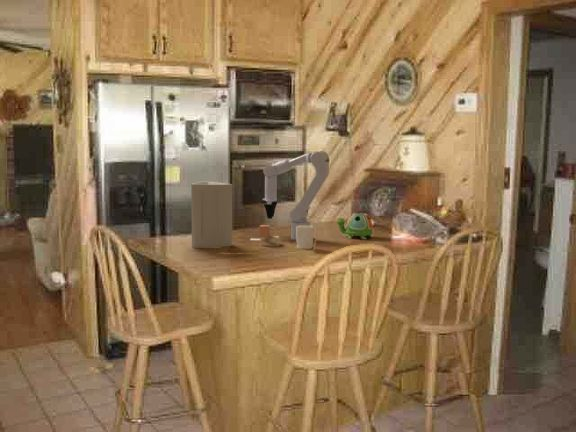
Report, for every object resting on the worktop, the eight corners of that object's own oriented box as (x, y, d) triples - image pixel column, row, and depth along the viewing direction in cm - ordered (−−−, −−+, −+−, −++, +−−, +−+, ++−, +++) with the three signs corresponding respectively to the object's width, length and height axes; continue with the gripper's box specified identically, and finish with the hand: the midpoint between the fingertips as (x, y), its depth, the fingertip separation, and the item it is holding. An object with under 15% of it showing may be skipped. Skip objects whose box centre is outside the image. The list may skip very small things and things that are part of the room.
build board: (286, 240, 284) (286, 239, 284) (283, 247, 266) (283, 246, 266) (249, 239, 286) (249, 238, 286) (243, 246, 267) (243, 245, 267)
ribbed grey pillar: (181, 244, 271) (181, 182, 268) (209, 240, 281) (209, 181, 277) (205, 250, 257) (204, 185, 253) (233, 246, 267) (233, 184, 263)
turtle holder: (339, 234, 305) (340, 211, 303) (374, 236, 299) (375, 213, 298) (333, 238, 293) (334, 214, 292) (370, 240, 288) (370, 216, 286)
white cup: (315, 250, 261) (315, 227, 259) (297, 250, 259) (297, 228, 258) (311, 247, 268) (311, 225, 267) (294, 247, 267) (294, 225, 266)
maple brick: (279, 243, 272) (279, 236, 272) (278, 245, 267) (278, 237, 267) (261, 243, 273) (261, 235, 272) (260, 245, 268) (260, 237, 267)
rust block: (270, 235, 272) (270, 225, 271) (269, 237, 267) (269, 226, 267) (260, 235, 272) (260, 224, 271) (259, 237, 268) (259, 226, 267)
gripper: (264, 188, 296) (264, 215, 298) (260, 190, 282) (260, 219, 284) (278, 188, 296) (278, 215, 298) (275, 191, 281) (275, 219, 283)
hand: (270, 217), depth 291 cm, fingers open, 7 cm apart
